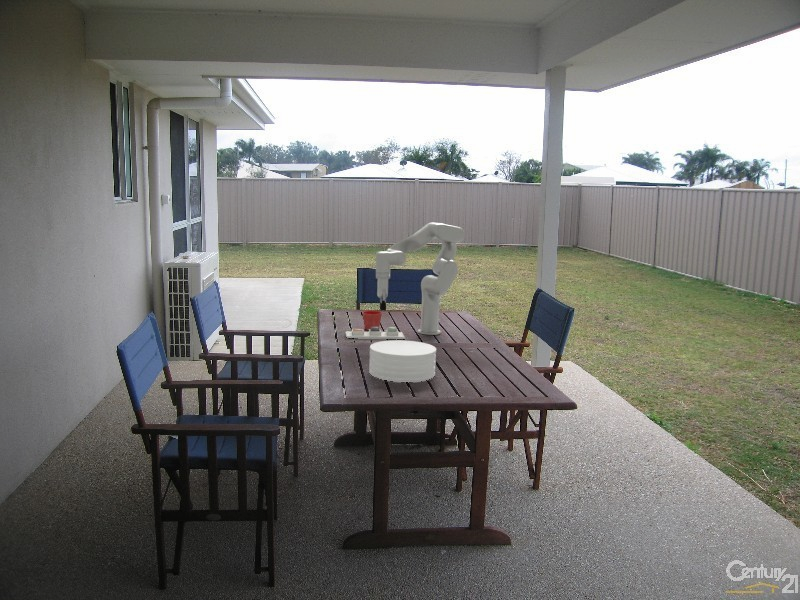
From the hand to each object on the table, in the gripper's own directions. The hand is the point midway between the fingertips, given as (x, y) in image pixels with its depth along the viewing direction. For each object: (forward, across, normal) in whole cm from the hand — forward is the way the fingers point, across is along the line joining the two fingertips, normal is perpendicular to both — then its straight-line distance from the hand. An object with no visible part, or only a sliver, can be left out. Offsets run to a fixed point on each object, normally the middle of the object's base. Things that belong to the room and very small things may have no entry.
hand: (382, 309), depth 365 cm
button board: (+14, +1, -4) cm, 15 cm away
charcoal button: (+11, +1, -4) cm, 12 cm away
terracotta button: (+12, +1, -13) cm, 18 cm away
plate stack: (+14, +72, +2) cm, 74 cm away
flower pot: (+15, -18, -5) cm, 24 cm away
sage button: (+12, 0, +5) cm, 12 cm away
